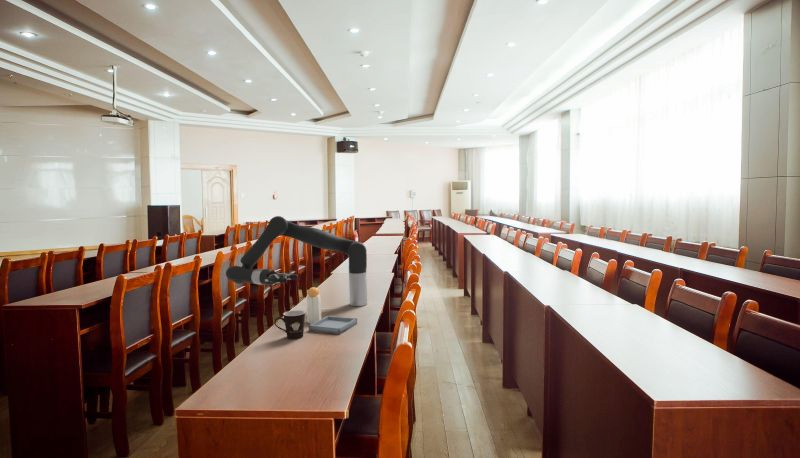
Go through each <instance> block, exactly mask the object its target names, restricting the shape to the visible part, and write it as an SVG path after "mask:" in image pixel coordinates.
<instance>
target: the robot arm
mask: <svg viewBox="0 0 800 458" xmlns="http://www.w3.org/2000/svg"><path fill="white" fill-rule="evenodd" d="M279 236H280V237H281V236H282V237H288V238H291V239H295V240H297V241H300V242H302V243H304V244H306V245H309V246H312V247H315V248H318V249H322V250H328V251H336V252H340V253H343V254H345V255H346V256H348V285H349V286H348V288H349V289H348V291H349V292H348V293H349V305H350V306H351V307H363V306H366V305H368V283H367V282H368V279H367V267H368V265H367V262H368V261H367V260H368V257H367V248H366V246H365V245H364V244H363V242H361V241H357V240H351V239H349V238H348V239H347V238H343V237H341V236H338V235H336V234H333V233H331V232H328V231H326V230H323V229H319V228H317V227H313V226H306V225H300V224H297V223H293V222H291V221H289V220H287V219H286V218H285V217H283V216H279V215H277V216H274V217H272V218H271V219H270V220H269V221H268V224H267V226H266V227H265V229H264V231H263V232H262V233H261V235H260V236H259V237H258V239H256V241H255V242H254V243H253V244H252V245H251V246H250V247H249V248H248V250H247V251H246V252H245V253H244V254H243V255H242V256H241V258H240V263H241V266H239V265H231V266H230V267H228V268H227V269H226V271H225V276H226V278H227V279H228V280H230V281H232V282H234V283H235V284H237V285H240V284H243V283H248V284H255V285H263V286H273V285H276V284H280V283H281V284H288V280H293V281H294V280H295V281H297V280H299V275H298V274H293V273H292V272H281V273H280V272H277V273H276V271H275V270H274V269H267V268H253V267H254V266H255V265H256V264H257V263H258V261H259V260H260V259H261V258H262V256H263V255H264V253H265V252H266V251H267V249H269V246H271V244H272V243H273V241H275V240H276V239H277V237H279Z"/></svg>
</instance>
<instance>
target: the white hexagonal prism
mask: <svg viewBox="0 0 800 458" xmlns="http://www.w3.org/2000/svg"><path fill="white" fill-rule="evenodd" d="M321 296H322V295H321V294H319V295H318V296H317V297H309V295H308V294H307V295H306V315H307V316H306V319H307V320H306V321H307V323H308V324H312V323H314V322H316V321H318V320H320V319H322V303H321V302H322V301H321V300H322V299H321V298H322V297H321Z"/></svg>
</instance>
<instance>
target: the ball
mask: <svg viewBox="0 0 800 458" xmlns="http://www.w3.org/2000/svg"><path fill="white" fill-rule="evenodd" d="M308 295H309V297H317V296H318V295H320V291H319V289H318V288H317V287H315V286H314V287H310V288H309V289H308V290H307V296H308Z"/></svg>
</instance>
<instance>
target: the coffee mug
mask: <svg viewBox="0 0 800 458" xmlns="http://www.w3.org/2000/svg"><path fill="white" fill-rule="evenodd" d="M305 318H306V312H305V311H304V310H298V309H297V310H295V309H294V310H289V311H284V312H283V317H277V318H275V319H274V325H275V327H276V328H278V330H281V331H283V332H285V333H286V338H287V339H288V340H300V339H302V338H303V337H304V329H305ZM278 320H282V321H283V323H284V324H285V325H284V326H285V329H284V328H282V327H280V326H279V325H277V321H278Z"/></svg>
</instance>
